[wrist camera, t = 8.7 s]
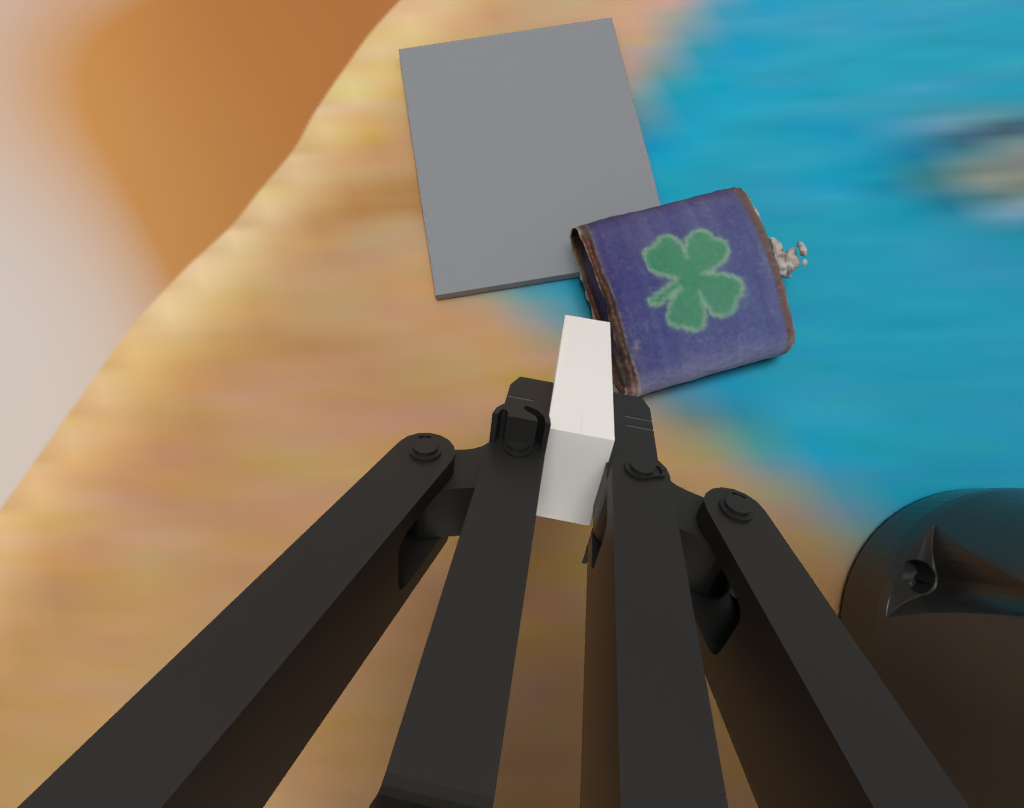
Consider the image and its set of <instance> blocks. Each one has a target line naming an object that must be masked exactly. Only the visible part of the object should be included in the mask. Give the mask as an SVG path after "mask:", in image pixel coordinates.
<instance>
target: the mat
mask: <svg viewBox="0 0 1024 808" xmlns="http://www.w3.org/2000/svg"><path fill="white" fill-rule="evenodd" d="M399 55H400V62H401V69H402V75H403V82H404V89H405V95H406V102H407V109H408V115H409V122H410V129H411V136H412V142H413V149H414V156H415V162H416V169H417V176H418V182H419V189H420V196H421V202H422V209H423V216H424V222H425V229H426V236H427V242H428V249H429V256H430V262H431V269H432V276H433V282H434V289H435V296H436V298H437V300H441V299H447V298H453V297H459V296H465V295H472V294H478V293H484V292H490V291H496V290H502V289H508V288H514V287H520V286H526V285H533V284H539V283H545V282H551V281H557V280H563V279H569V278H575V277H580V270H579V268H578V266H577V264H576V262H575V260H574V258H573V253H574V252H573V251H572V247H573V246H572V245H571V239H570V236H571V230H572V228H575V227H578V226H581V225H583V224H588V223H591V222H594V221H597V220H600V219H605V218H607V217H611V216H616V215H622V214H626V213H629V212H636V211H641V210H645V209H648V208H652V207H656V206H661V205H660V201H659V197H658V193H657V189H656V185H655V182H654V178H653V174H652V170H651V166H650V163H649V159H648V155H647V151H646V147H645V143H644V140H643V136H642V132H641V128H640V124H639V121H638V117H637V113H636V109H635V105H634V101H633V98H632V94H631V90H630V86H629V82H628V78H627V75H626V71H625V67H624V63H623V59H622V56H621V52H620V48H619V44H618V40H617V36H616V33H615V29H614V25H613V21H612V18H605V19H599V20H592V21H585V22H579V23H572V24H565V25H559V26H552V27H545V28H539V29H532V30H525V31H519V32H512V33H505V34H499V35H492V36H485V37H479V38H472V39H465V40H459V41H452V42H445V43H439V44H432V45H425V46H419V47H412V48H405V49H399ZM569 235H570V236H569Z"/></svg>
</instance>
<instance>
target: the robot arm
mask: <svg viewBox="0 0 1024 808" xmlns="http://www.w3.org/2000/svg"><path fill="white" fill-rule="evenodd" d="M651 420H652V419H651V413H650V408H649V407H648V406H647V404H646V403H645V402H644V400H643V399H642V398H641V397H636V396H631V395H625V394H620V393H614V392H613V386H612V361H611V336H610V322H604V321H599V320H593V319H587V318H581V317H575V316H569V315H565V319H564V324H563V330H562V335H561V340H560V345H559V350H558V356H557V361H556V366H555V371H554V377H553V382H546V381H541V380H535V379H530V378H524V377H519V378H518V379H517V380H516V381H514V382H513V383H512V384H511V385H510V388H509V391H508V394H507V398H506V401H505V403H504V404H502V405H500V406H499V407H497V408H496V409H495V411H494V412H493V414H492V423H491V431H490V440H489V443H487V444H486V445H484V446H482V447H478V448H475V449H467V450H454V446H453V445H452V443H451V442H450V441H449V440H448V439H446V438H444V437H442V436H440V435H436V434H432V433H417V434H414V435H410V436H407V437H406V438H404V439H403V440H401V441H400V442H399V443H397V444H396V445H395V446H394V447H393V448H392V449H391V450H390V451H389V452H388V453H387V454H386V455H385V456H384V457H383V458H382V459H381V460H380V461H379V462H378V463H377V464H376V465H375V466H373V467H372V468H371V469H370V470H369V471H368V472H367V473H366V474H365V475H364V476H363V477H362V478H361V479H360V480H359V481H358V482H357V483H356V484H355V485H354V486H353V487H352V488H350V489H349V490H348V491H347V492H346V493H345V494H344V495H343V496H342V497H341V498H340V499H339V500H338V501H337V502H336V503H335V504H334V505H333V506H332V507H331V508H330V509H329V510H328V511H326V512H325V513H324V514H323V515H322V516H321V517H320V518H319V519H318V520H317V521H316V522H315V523H314V524H313V525H312V526H311V527H310V528H309V529H308V530H307V531H306V532H305V533H304V534H302V535H301V536H300V537H299V538H298V539H297V540H296V541H295V542H294V543H293V544H292V545H291V546H290V547H289V548H288V549H287V550H286V551H285V552H284V553H283V554H282V555H281V556H279V557H278V558H277V559H276V560H275V561H274V562H273V563H272V564H271V565H270V566H269V567H268V568H267V569H266V570H265V571H264V572H263V573H262V574H261V575H260V576H259V577H258V578H257V579H255V580H254V581H253V582H252V583H251V584H250V585H249V586H248V587H247V588H246V589H245V590H244V591H243V592H242V593H241V594H240V595H239V596H238V597H237V598H236V599H235V600H234V601H232V602H231V603H230V604H229V605H228V606H227V607H226V608H225V609H224V610H223V611H222V612H221V613H220V614H219V615H218V616H217V617H216V618H215V619H214V620H213V621H212V622H211V623H210V624H208V625H207V626H206V627H205V628H204V629H203V630H202V631H201V632H200V633H199V634H198V635H197V636H196V637H195V638H194V639H193V640H192V641H191V642H190V643H189V644H188V645H187V646H186V647H184V648H183V649H182V650H181V651H180V652H179V653H178V654H177V655H176V656H175V657H174V658H173V659H172V660H171V661H170V662H169V663H168V664H167V665H166V666H165V667H164V668H163V669H161V670H160V671H159V672H158V673H157V674H156V675H155V676H154V677H153V678H152V679H151V680H150V681H149V682H148V683H147V684H146V685H145V686H144V687H143V688H142V689H141V690H140V691H139V692H137V693H136V694H135V695H134V696H133V697H132V698H131V699H130V700H129V701H128V702H127V703H126V704H125V705H124V706H123V707H122V708H121V709H120V710H119V711H118V712H117V713H116V714H115V715H113V716H112V717H111V718H110V719H109V720H108V721H107V722H106V723H105V724H104V725H103V726H102V727H101V728H100V729H99V730H98V731H97V732H96V733H95V734H94V735H93V736H92V737H90V738H89V739H88V740H87V741H86V742H85V743H84V744H83V745H82V746H81V747H80V748H79V749H78V750H77V751H76V752H75V753H74V754H73V755H72V756H71V757H70V758H69V759H68V760H66V761H65V762H64V763H63V764H62V765H61V766H60V767H59V768H58V769H57V770H56V771H55V772H54V773H53V774H52V775H51V776H50V777H49V778H48V779H47V780H46V781H45V782H44V783H42V784H41V785H40V786H39V787H38V788H37V789H36V790H35V791H34V792H33V793H32V794H31V795H30V796H29V797H28V798H27V799H26V800H25V801H24V802H23V803H22V804H21V805H19V806H18V807H17V808H263V807H264V805H265V804H266V802H267V801H268V799H269V798H270V797H271V795H272V794H273V792H274V791H275V789H276V788H277V786H278V785H279V783H280V782H281V781H282V779H283V778H284V776H285V775H286V773H287V772H288V770H289V769H290V768H291V766H292V765H293V763H294V762H295V760H296V759H297V757H298V756H299V755H300V753H301V752H302V750H303V749H304V747H305V746H306V744H307V743H308V742H309V740H310V739H311V737H312V736H313V734H314V733H315V731H316V730H317V728H318V727H319V726H320V724H321V723H322V721H323V720H324V718H325V717H326V715H327V714H328V713H329V711H330V710H331V708H332V707H333V705H334V704H335V702H336V701H337V700H338V698H339V697H340V695H341V694H342V692H343V691H344V689H345V688H346V687H347V685H348V684H349V682H350V681H351V679H352V678H353V676H354V675H355V674H356V672H357V671H358V669H359V668H360V666H361V665H362V663H363V662H364V660H365V659H366V658H367V656H368V655H369V653H370V652H371V650H372V649H373V647H374V646H375V645H376V643H377V642H378V640H379V639H380V637H381V636H382V634H383V633H384V632H385V630H386V629H387V627H388V626H389V624H390V623H391V621H392V620H393V619H394V617H395V616H396V614H397V613H398V611H399V610H400V608H401V607H402V606H403V604H404V603H405V601H406V600H407V598H408V597H409V595H410V594H411V592H412V591H413V590H414V588H415V587H416V585H417V584H418V582H419V581H420V579H421V578H422V577H423V575H424V574H425V572H426V571H427V569H428V568H429V566H430V565H431V564H432V562H433V561H434V559H435V558H436V556H437V555H438V553H439V552H440V551H441V549H442V548H443V546H444V545H445V543H446V542H447V539H448V537H449V536H459V535H460V537H459V540H458V543H457V547H456V550H455V553H454V556H453V559H452V563H451V566H450V569H449V572H448V575H447V579H446V582H445V585H444V588H443V591H442V595H441V598H440V601H439V604H438V607H437V611H436V614H435V617H434V620H433V623H432V627H431V630H430V633H429V636H428V639H427V642H426V646H425V649H424V652H423V655H422V658H421V662H420V665H419V668H418V671H417V674H416V678H415V681H414V684H413V687H412V690H411V694H410V697H409V700H408V703H407V706H406V710H405V713H404V716H403V719H402V722H401V726H400V729H399V732H398V735H397V738H396V741H395V745H394V748H393V751H392V754H391V757H390V761H389V764H388V767H387V770H386V773H385V776H384V779H383V782H382V785H381V787H380V790H379V792H378V794H377V796H376V797H375V799H374V800H373V802H372V803H371V805H370V806H369V808H493V802H494V795H495V788H496V782H497V775H498V768H499V761H500V755H501V748H502V741H503V735H504V728H505V721H506V714H507V708H508V701H509V694H510V687H511V681H512V674H513V667H514V660H515V654H516V647H517V640H518V634H519V627H520V620H521V613H522V607H523V600H524V593H525V586H526V580H527V573H528V566H529V559H530V553H531V546H532V539H533V533H534V526H535V519H536V515H537V516H542V517H547V518H552V519H557V520H562V521H567V522H572V523H577V524H582V525H587V526H589V525H590V522H591V518H592V515H593V528H592V532H591V535H590V538H589V541H588V545H587V548H586V551H585V555H584V558H583V561H582V563H585V564H587V561H588V566H587V598H586V630H585V663H584V695H583V727H582V759H581V791H580V808H728V804H727V799H726V793H725V787H724V782H723V776H722V770H721V765H720V759H719V753H718V747H717V742H716V736H715V730H714V725H713V719H712V713H711V708H710V702H709V696H708V691H707V685H706V679H705V676H706V678H707V681H708V683H709V686H710V688H711V691H712V693H713V695H714V698H715V700H716V703H717V705H718V708H719V710H720V713H721V715H722V718H723V720H724V723H725V725H726V728H727V730H728V733H729V735H730V738H731V740H732V743H733V745H734V748H735V750H736V753H737V755H738V758H739V760H740V763H741V765H742V768H743V770H744V773H745V775H746V778H747V780H748V782H749V785H750V787H751V790H752V792H753V795H754V797H755V800H756V802H757V805H758V807H759V808H1024V489H1023V488H990V489H965V490H955V491H948V492H943V493H939V494H935V495H932V496H929V497H926V498H924V499H921V500H919V501H916V502H914V503H912V504H910V505H909V506H907V507H905V508H904V509H902V510H900V511H899V512H897V513H896V514H895V515H893V516H892V517H891V518H889V519H888V520H887V521H886V522H885V523H884V524H883V525H881V527H880V528H879V529H878V530H877V531H876V532H875V533H874V534H873V535H872V537H871V538H870V539H869V540H868V542H867V543H866V545H865V546H864V548H863V549H862V551H861V552H860V554H859V556H858V558H857V560H856V562H855V564H854V566H853V568H852V571H851V573H850V576H849V579H848V582H847V585H846V589H845V593H844V597H843V603H842V610H841V620H840V619H839V618H838V616H837V615H836V613H835V612H834V610H833V609H832V607H831V606H830V604H829V603H828V602H827V600H826V599H825V597H824V596H823V594H822V593H821V591H820V590H819V589H818V587H817V586H816V584H815V583H814V581H813V580H812V578H811V577H810V575H809V574H808V573H807V571H806V570H805V568H804V567H803V565H802V564H801V562H800V561H799V560H798V558H797V557H796V555H795V554H794V552H793V551H792V549H791V548H790V546H789V545H788V544H787V542H786V541H785V539H784V538H783V536H782V535H781V533H780V532H779V530H778V529H777V528H776V526H775V525H774V523H773V522H772V520H771V519H770V517H769V516H768V515H767V513H766V512H765V510H764V509H763V508H762V507H761V506H760V505H759V504H758V503H757V502H756V501H755V500H754V499H752V498H751V497H749V496H748V495H746V494H744V493H742V492H739V491H737V490H734V489H729V488H723V487H722V488H714V489H711V490H710V491H708V492H707V493H706V494H705V497H704V498H703V497H701V496H699V495H696V494H694V493H691V492H689V491H687V490H685V489H683V488H681V487H679V486H677V485H675V484H674V483H673V482H671V480H670V475H669V473H668V471H667V469H666V468H665V467H664V466H663V465H662V464H661V463H660V462H659V461H658V458H657V451H656V445H655V439H654V432H653V426H652V422H651ZM704 673H705V674H704Z"/></svg>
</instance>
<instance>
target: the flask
mask: <svg viewBox="0 0 1024 808" xmlns="http://www.w3.org/2000/svg"><path fill="white" fill-rule="evenodd" d="M569 236H570V235H569ZM570 239H571V245H572V246H573V247H572V251H573V252H574V253H573V258H574V260H575V262H576V264H577V266H578V268H579V270H580V279H581V280H582V282H583V284H584V288H585V294H586V300H588V301H589V302H590V304H591V307H592V309H591V310H592V318H593V320H599V321H604V322H610V336H611V361H612V381H613V383H615V385H617V388H618V390H619V393H620V394H625V395H631V396H636V397H638V396H640V395H644V394H647V393H651V392H654V391H657V390H660V389H664V388H667V387H670V386H673V385H677V384H681V383H685V382H689V381H693V380H696V379H698V378H701V377H704V376H707V375H711V374H714V373H717V372H721V371H725V370H730V369H733V368H736V367H739V366H741V365H745V364H749V363H754V362H757V361H760V360H764V359H770V358H774V357H777V356H780V355H782V354H785V353H787V352H788V351H789V350H790V349H791V347H792V345H793V343H794V342H795V329H794V326H793V321H792V316H791V312H790V308H789V305H788V300H787V295H786V291H785V286H784V284H783V281H782V277H783V278H790V277H791V272H793V271H794V270H796V269H797V268H798V267H799V265H800V263H799V259H798V255H796V250H795V248H794V247H792V249H788V251H787V252H784V251H783V248H782V243H781V242H779V241H777V240H776V239H775V238H773V237H770V238H768V237H767V234H766V231H765V229H764V227H763V225H762V221H761V218H760V215H759V213H758V211H757V209H756V208H754V207H753V205H752V202H751V200H750V199H749V197H748V195H747V193H745V192H744V191H743V190H742V189H741V188H734V187H733V188H730V189H724V190H718V191H715V192H712V193H708V194H703V195H699V196H695V197H692V198H689V199H685V200H680V201H676V202H672V203H669V204H665V205H661V206H656V207H652V208H648V209H645V210H641V211H636V212H629V213H626V214H622V215H616V216H611V217H607V218H605V219H600V220H597V221H594V222H591V223H588V224H583V225H581V226H578V227H575V228H572V230H571V236H570ZM797 247H798V248H799V251H800V255H801V256H805V257H806V254H807V248H806V247H805V245H804V244H803V243H802V242H797ZM807 264H808V263H807V261H806V259H805V260H803V261H802V265H803V266H805V265H807Z"/></svg>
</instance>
